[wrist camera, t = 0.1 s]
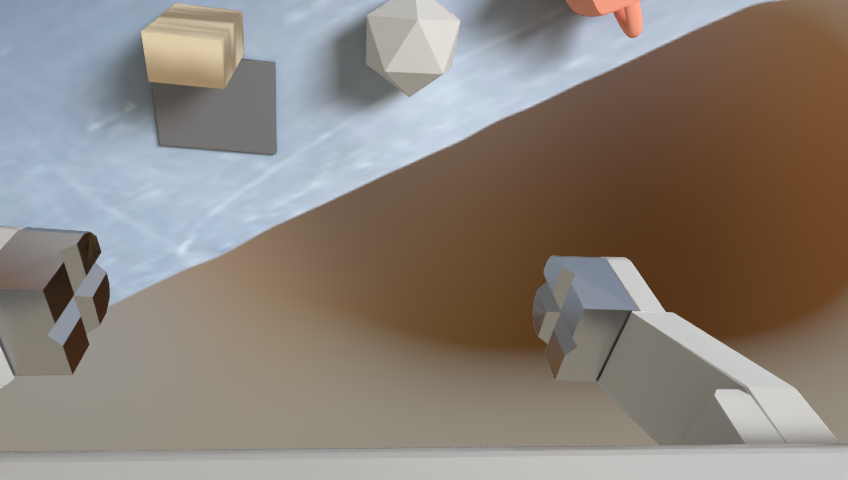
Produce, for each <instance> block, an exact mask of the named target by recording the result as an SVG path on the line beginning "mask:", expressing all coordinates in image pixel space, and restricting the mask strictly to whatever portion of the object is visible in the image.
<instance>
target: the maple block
mask: <svg viewBox="0 0 848 480" xmlns="http://www.w3.org/2000/svg"><path fill="white" fill-rule="evenodd" d="M141 35H142V42H143V48H144V55H145V62H146V68H147V75H148V81H149V82H158V83H168V84H178V85H188V86H198V87H208V88H218V89H225V87H226V85H227V84H228V82H229V80H230V78H231V77H232V75H233V73H234V71H235V69H236V68H237V66H238V64H239V62H240V60H241V59H242V57H243V55H244V37H243V15H242V11H235V10H227V9H219V8H211V7H203V6H194V5H186V4H178V3H175V4H174V5H173V6H172V7H170V8H169V9H168V10H167V11H165V12H164V13H163V14H162V15H161V16H159V17H158V18H157V19H156V20H155V21H153V22H152V23H151V24H150V25H148V26H147V27H146V28H145V29H144V30H142V31H141Z"/></svg>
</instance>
